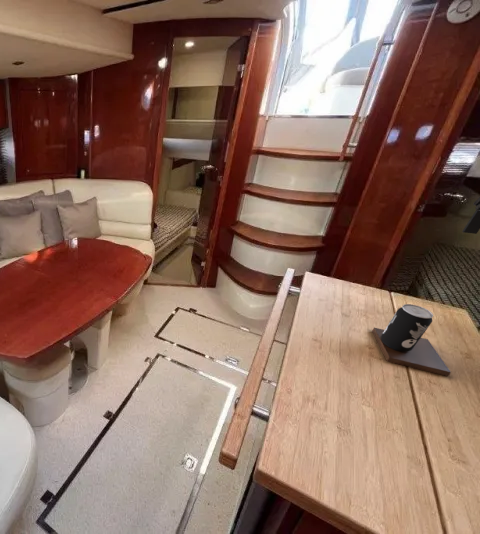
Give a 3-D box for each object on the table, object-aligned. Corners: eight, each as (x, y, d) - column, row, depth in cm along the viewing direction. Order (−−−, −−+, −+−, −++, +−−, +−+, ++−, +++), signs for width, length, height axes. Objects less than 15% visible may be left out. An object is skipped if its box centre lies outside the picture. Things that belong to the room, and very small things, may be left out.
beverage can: (388, 351, 83) (411, 316, 77) (374, 334, 88) (394, 301, 82) (417, 355, 81) (442, 320, 75) (401, 338, 87) (424, 304, 81)
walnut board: (424, 343, 87) (427, 339, 86) (447, 376, 77) (451, 372, 76) (371, 331, 92) (374, 327, 91) (386, 361, 82) (389, 357, 81)
